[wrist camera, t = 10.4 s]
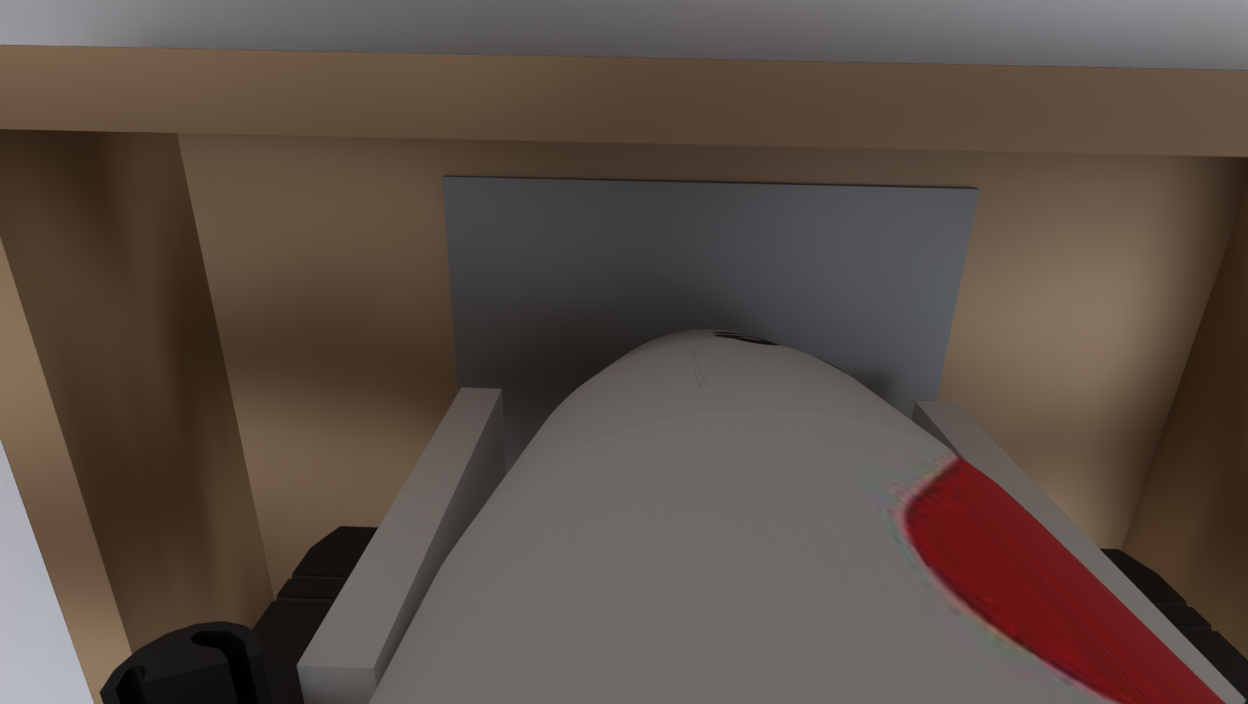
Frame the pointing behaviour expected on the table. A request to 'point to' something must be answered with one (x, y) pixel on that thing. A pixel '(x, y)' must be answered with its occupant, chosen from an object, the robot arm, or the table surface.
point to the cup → (763, 559)
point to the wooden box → (590, 285)
